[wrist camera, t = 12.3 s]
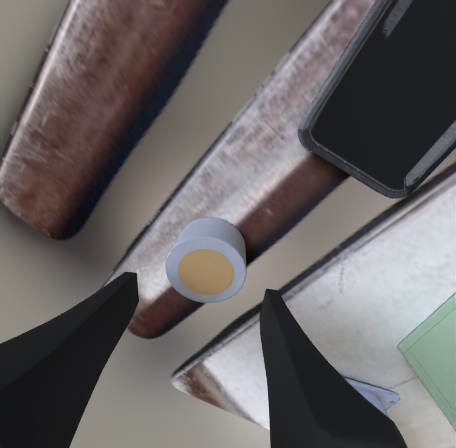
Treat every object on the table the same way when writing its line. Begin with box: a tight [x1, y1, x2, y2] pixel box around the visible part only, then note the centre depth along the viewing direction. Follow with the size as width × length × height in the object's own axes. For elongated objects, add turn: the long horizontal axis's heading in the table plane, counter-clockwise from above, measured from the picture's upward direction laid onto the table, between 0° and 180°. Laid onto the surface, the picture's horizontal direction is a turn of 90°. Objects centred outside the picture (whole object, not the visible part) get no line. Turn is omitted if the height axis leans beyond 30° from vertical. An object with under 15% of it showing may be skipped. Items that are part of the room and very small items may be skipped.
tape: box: [165, 217, 246, 303], centre depth 15 cm, size 5×5×3 cm
